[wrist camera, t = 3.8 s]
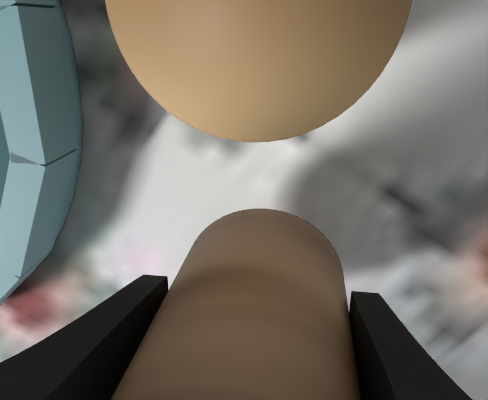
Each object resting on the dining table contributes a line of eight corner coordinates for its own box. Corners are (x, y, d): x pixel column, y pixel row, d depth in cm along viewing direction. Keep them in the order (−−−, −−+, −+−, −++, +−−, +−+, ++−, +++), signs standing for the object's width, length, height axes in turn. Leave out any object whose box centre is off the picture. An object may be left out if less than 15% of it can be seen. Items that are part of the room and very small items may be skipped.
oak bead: (354, 92, 12) (392, 147, 7) (202, 88, 13) (119, 137, 7) (372, -92, 10) (443, -225, 5) (196, -87, 11) (82, -200, 6)
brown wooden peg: (336, 352, 12) (359, 607, 7) (189, 338, 13) (102, 564, 8) (351, 213, 11) (396, 405, 5) (182, 203, 11) (63, 368, 6)
